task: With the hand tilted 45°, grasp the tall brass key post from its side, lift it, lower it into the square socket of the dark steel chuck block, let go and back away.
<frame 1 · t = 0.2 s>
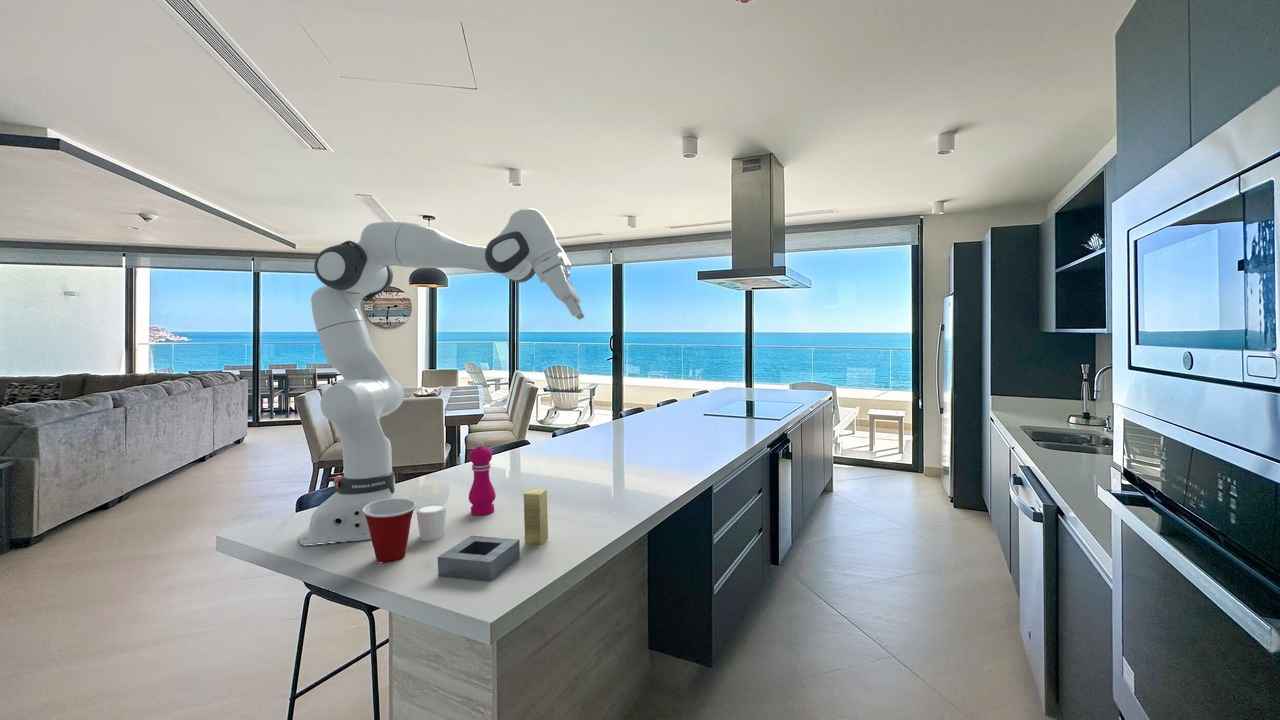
hand: (579, 317, 130), 53 cm above the countertop, tool tilted 25°, fingers open, 8 cm apart
white cylinder: (432, 537, 128), on the countertop
plastic cup: (391, 559, 115), on the countertop
brass key post: (536, 541, 123), on the countertop
chuck block: (480, 566, 110), on the countertop
pepper mill: (482, 512, 146), on the countertop
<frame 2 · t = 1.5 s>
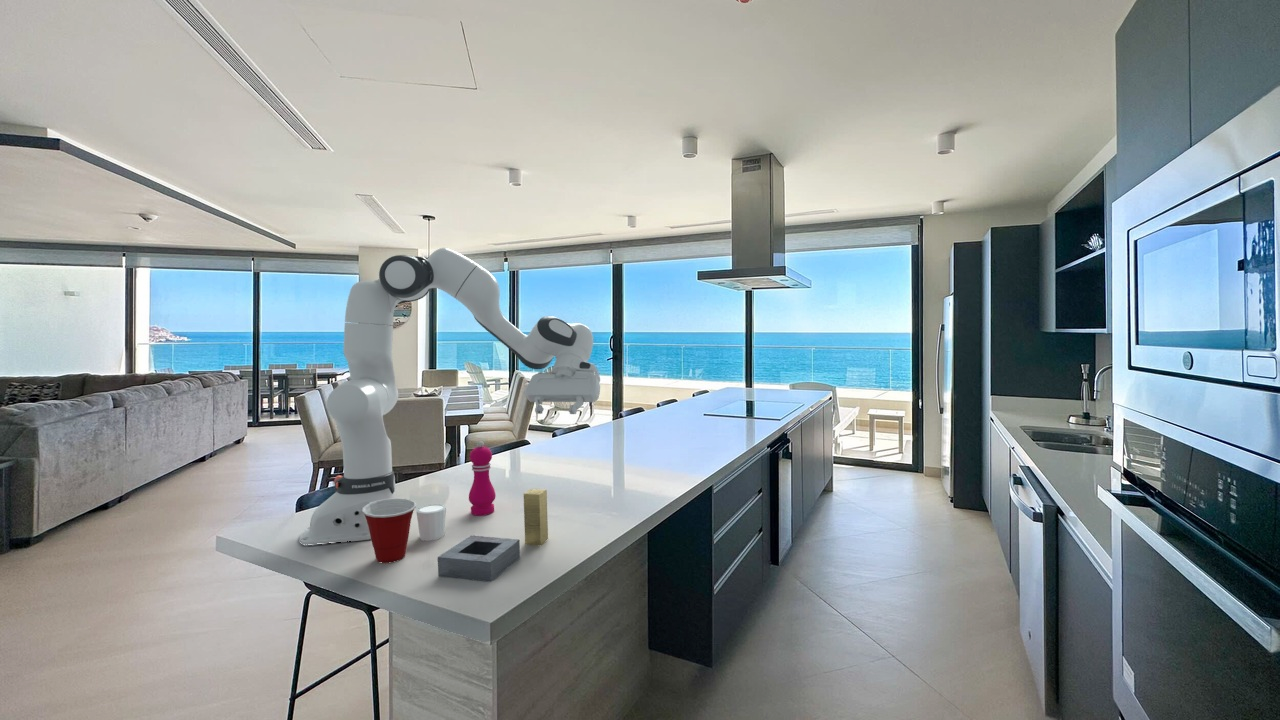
hand: (555, 412, 134), 29 cm above the countertop, tool tilted 45°, fingers open, 8 cm apart
nothing on the countertop moved.
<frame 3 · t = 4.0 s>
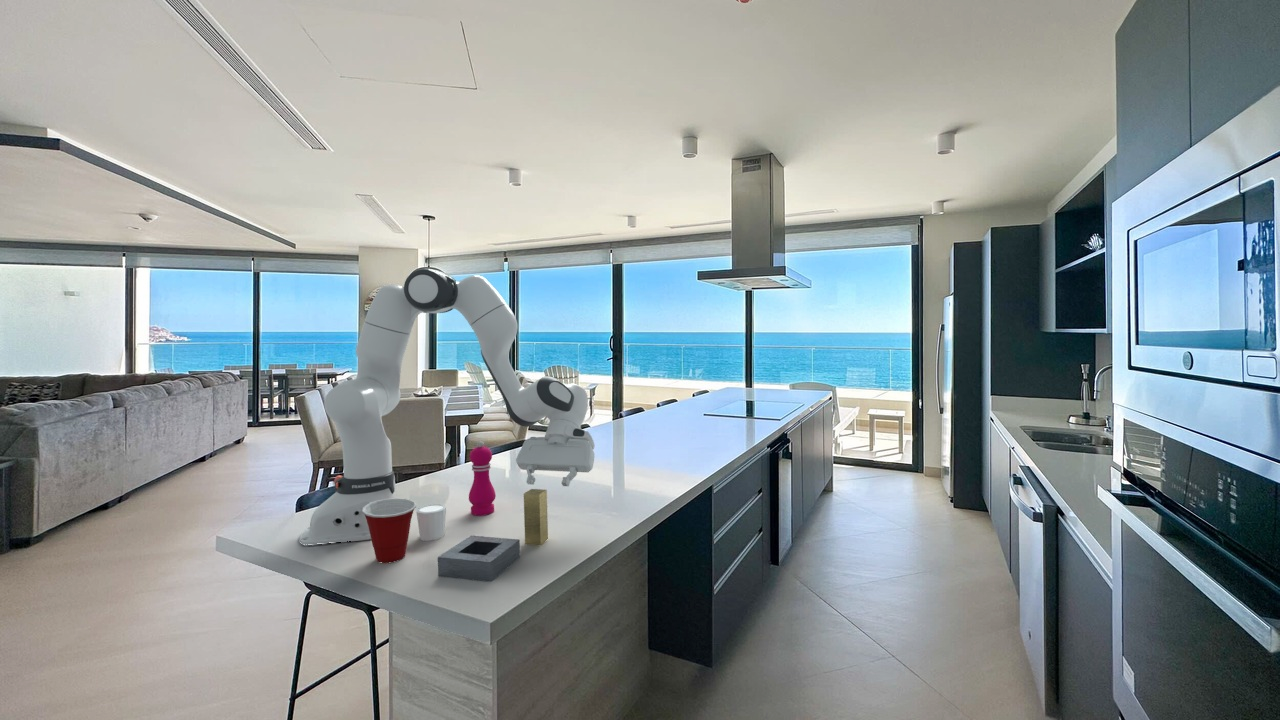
hand: (547, 484, 129), 12 cm above the countertop, tool tilted 45°, fingers open, 8 cm apart
nothing on the countertop moved.
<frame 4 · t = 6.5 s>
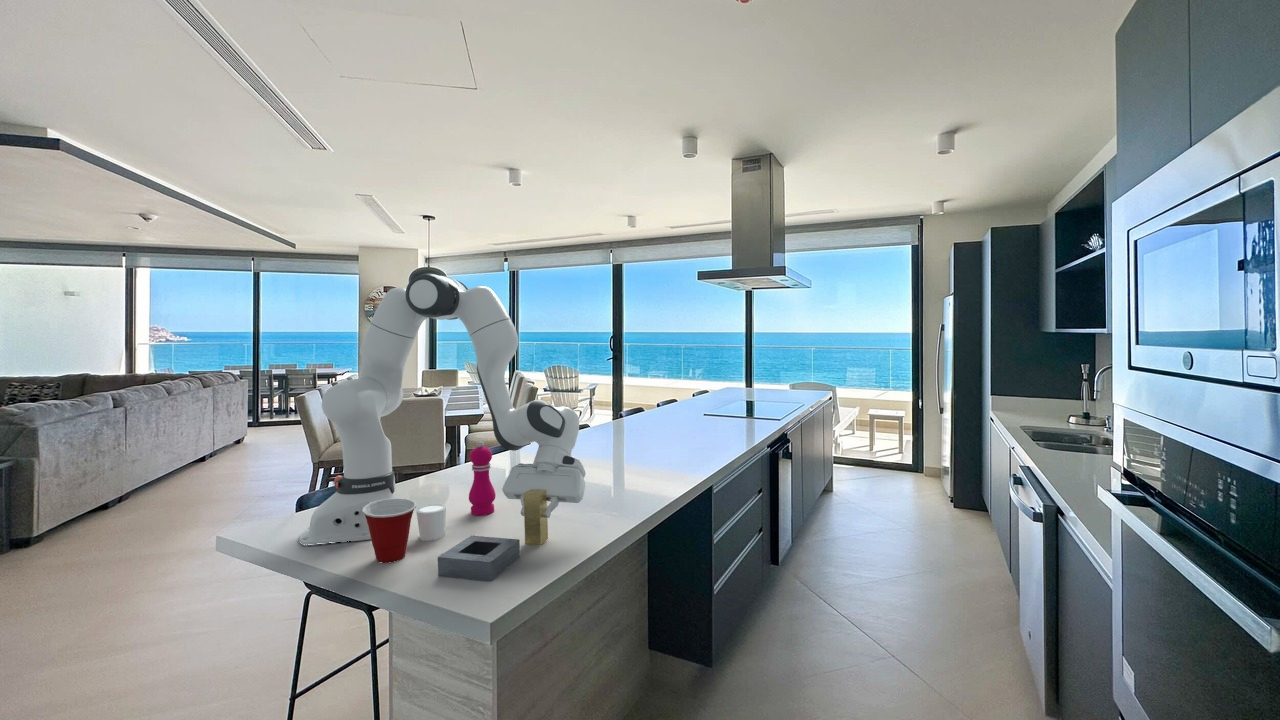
hand: (534, 515, 122), 6 cm above the countertop, tool tilted 45°, fingers closed on brass key post, 4 cm apart
brass key post: (536, 541, 123), on the countertop, touching gripper
everything else where it was.
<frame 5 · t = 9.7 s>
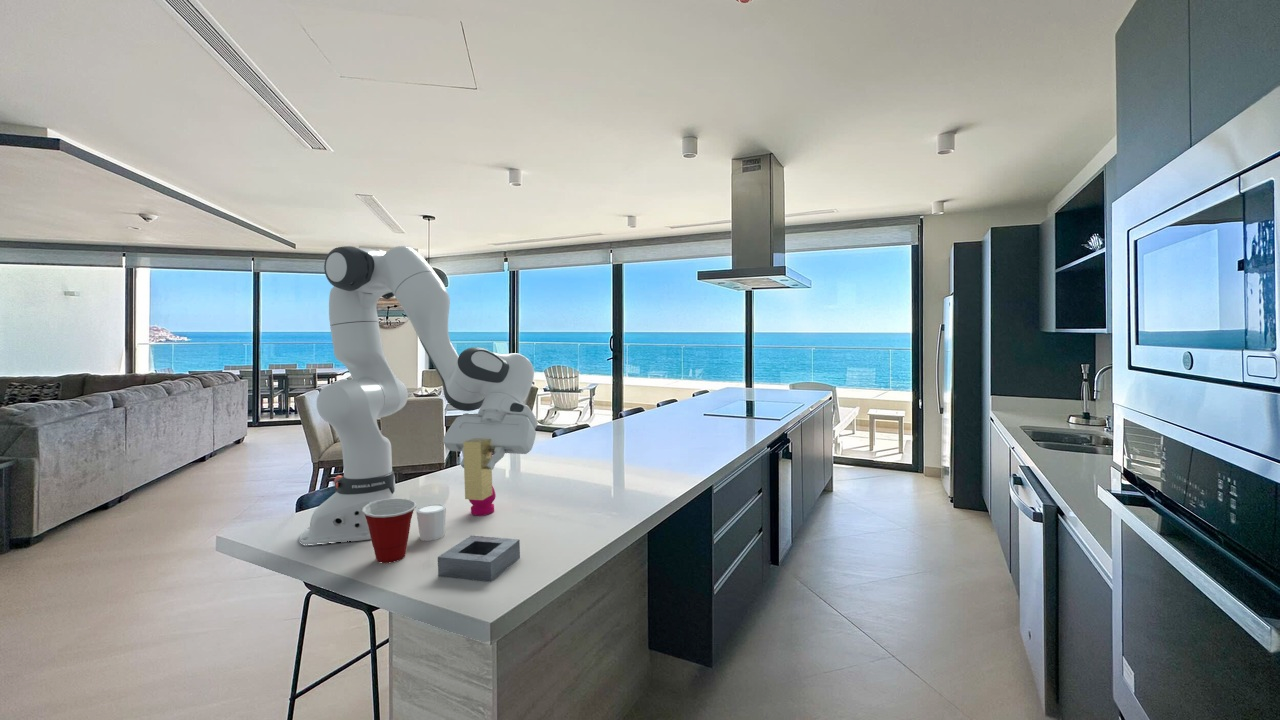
hand: (476, 467, 109), 21 cm above the countertop, tool tilted 45°, fingers closed on brass key post, 4 cm apart
brass key post: (479, 496, 110), point 15 cm above the countertop, touching gripper
everything else where it was.
when the fingers open (8 cm above the countertop, at t = 13.2 s): brass key post drops 1 cm, resting on chuck block.
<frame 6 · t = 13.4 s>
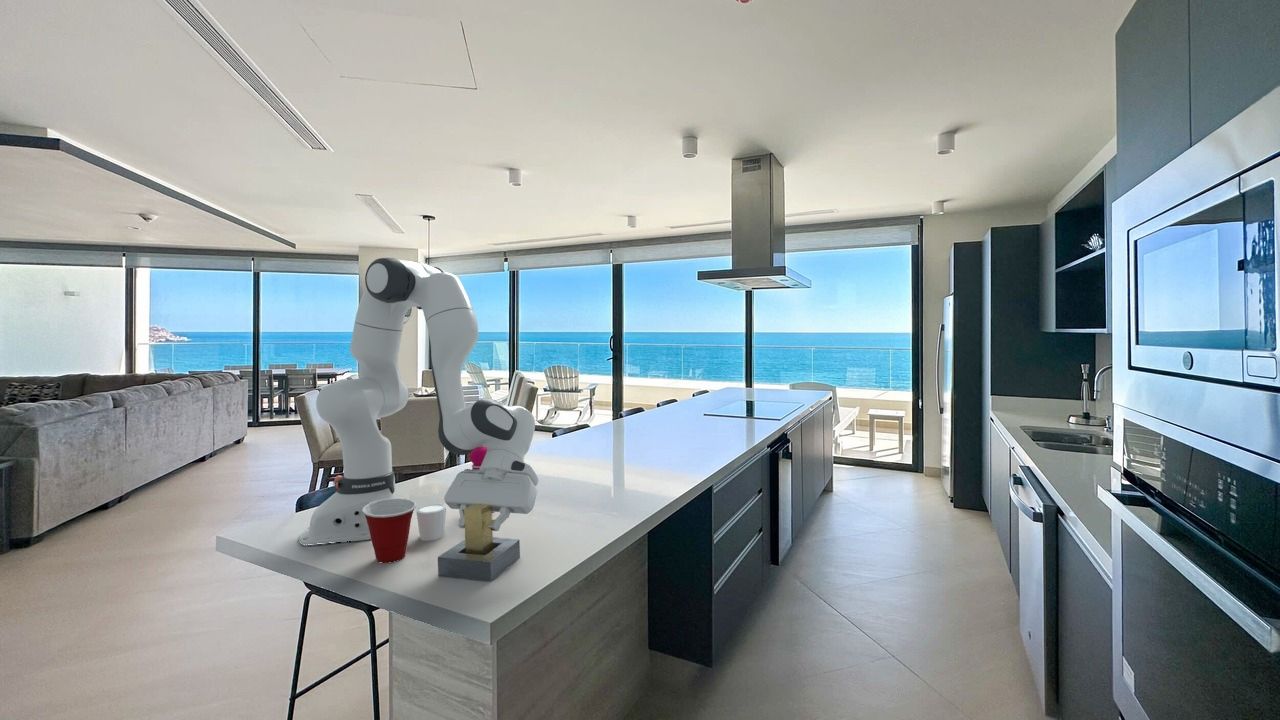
hand: (477, 528, 109), 8 cm above the countertop, tool tilted 45°, fingers open, 6 cm apart
brass key post: (480, 562, 110), point 1 cm above the countertop, touching chuck block
everything else where it was.
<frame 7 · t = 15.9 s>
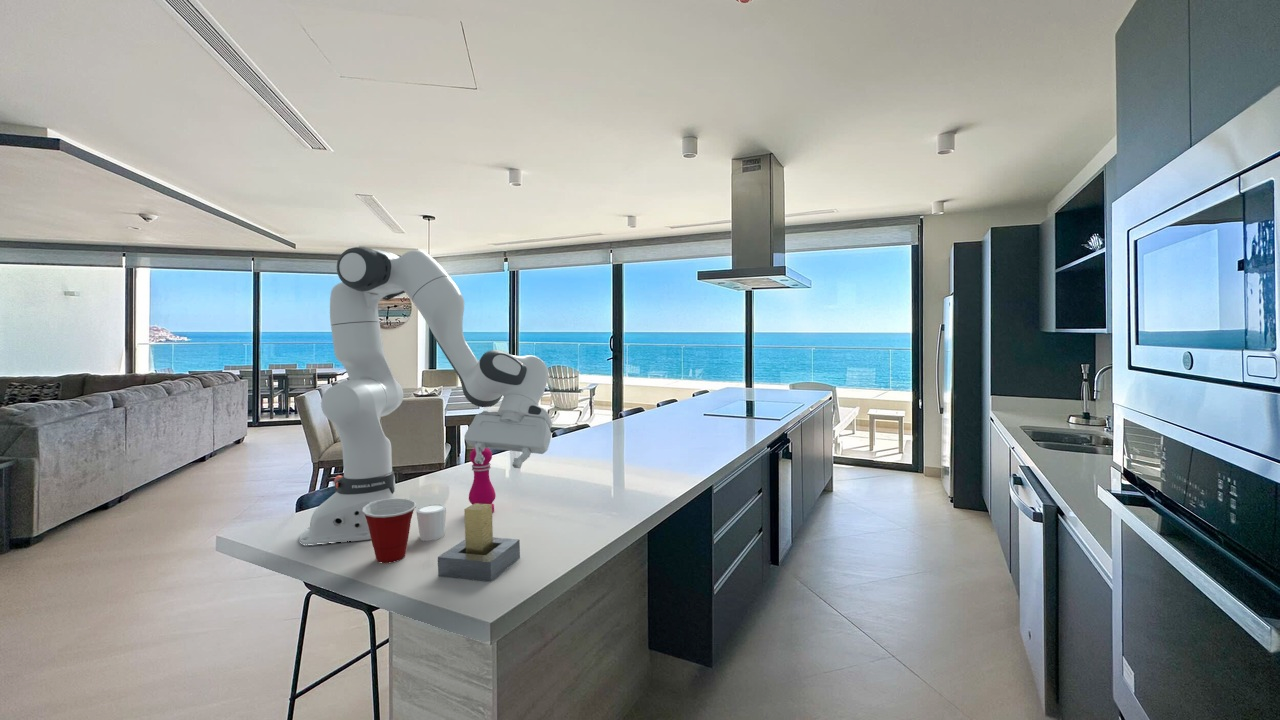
hand: (496, 465, 119), 19 cm above the countertop, tool tilted 40°, fingers open, 8 cm apart
nothing on the countertop moved.
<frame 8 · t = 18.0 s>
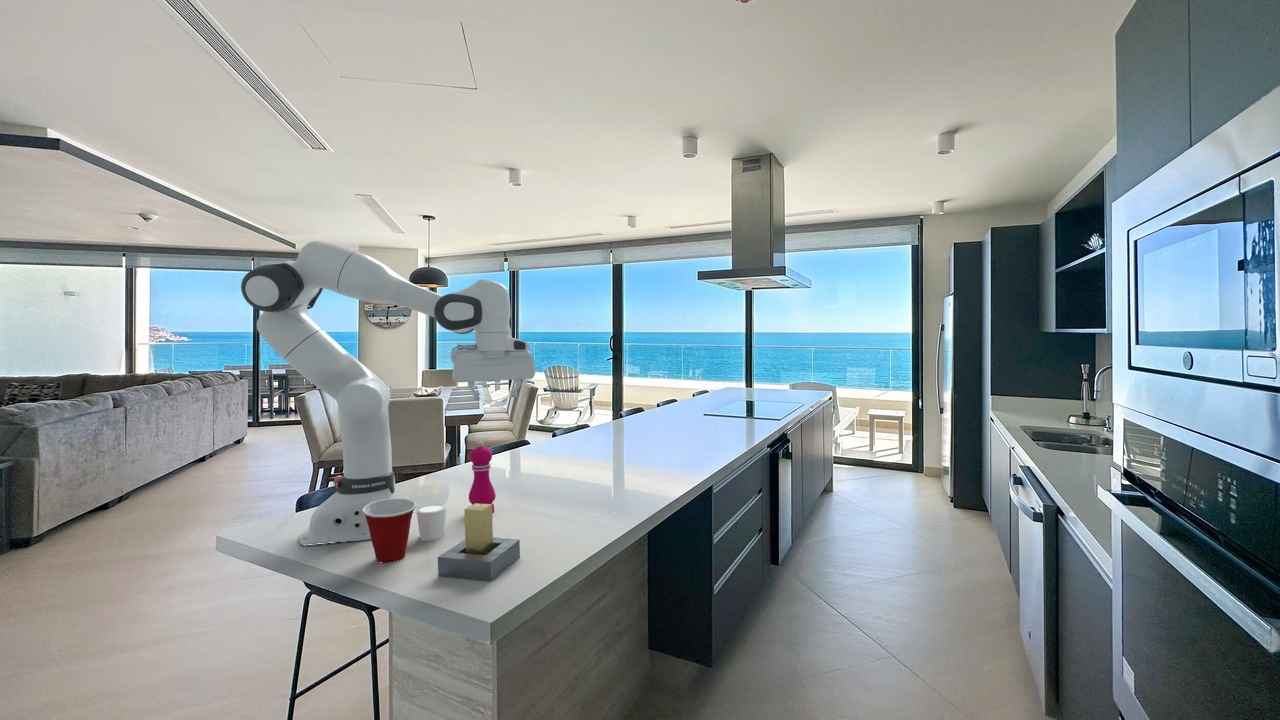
hand: (495, 398, 133), 33 cm above the countertop, tool pointing down, fingers open, 8 cm apart
nothing on the countertop moved.
at the end: brass key post 0.1 cm off-centre on the chuck block, point 0.8 cm above the chuck block's base; brass key post tilted 0°; the gripper is holding nothing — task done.
